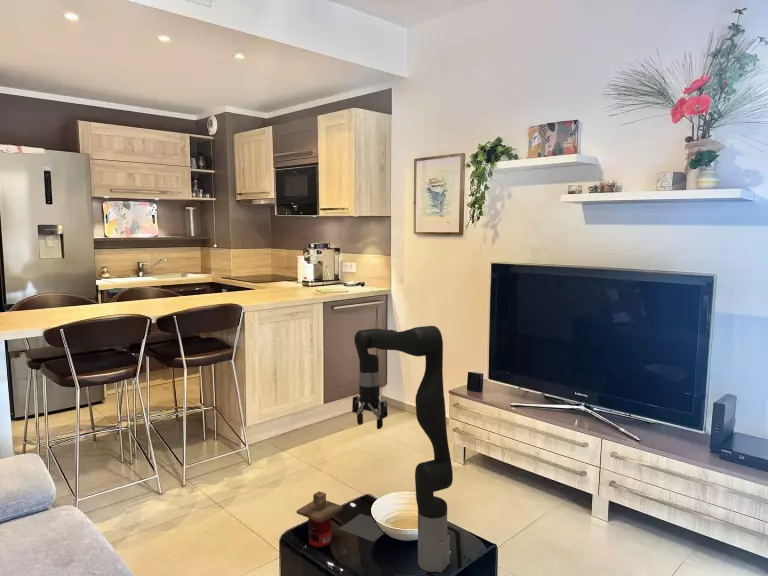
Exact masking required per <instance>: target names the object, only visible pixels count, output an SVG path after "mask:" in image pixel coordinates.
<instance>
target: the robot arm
mask: <svg viewBox="0 0 768 576" xmlns="http://www.w3.org/2000/svg"><path fill="white" fill-rule="evenodd" d="M353 340H354V345H355V349H356V352H357V355H358V361H359V376H358V394H359V395H355V396H353V397H352V404H351V405H352V407H351V411H352V413H355V415H356V422H357V425H358V426H362V425H363V424H364V414H363V413H364V411H368V412H372V414H373V415H375V417H376V429H377V430H380V429H382V428H383V426H384V423H383V422H384V420H383V419H385V418H387V417H388V415H389V414H388V402H387V400H380V395H381V393H380V391H381V390H380V389H381V385H380V382H381V381H380V380H381V379H380V371H379V370H380V369H379V368H380V367H379V366H380V363H379V362H380V361H379V356H378V355H376V354H373V353H370V352H369V349H377V350H385V351H398V352H402V353H404V354H406V355H411V356H413V357H424V356H425V357H424V358H425V368H424V369H425V370H424V373H423V374H424V375H423V376H422V379H421V381H420V384H419V386H418V388H417V391H416V395H415V399H414V400H415V414H416V419H417V422H418V424H419V426H420V428H421V429H422V430H423V432H424V433H425V435H426V436H427V438H428V439H429V441H430V442H431V444H432V445H431V446H432V449H433V459H431V460H428V461H422V462H419V463H418V464H416V467H415V473H414V483H415V500H416V504H417V564H418V566H419V568H421V569H422V570H423V571H426V572H431V573H442V572H443V571H444V570H445V569H447V567H448V566H449V565H450V564H451V561H450V560H451V557H450V555H451V550H450V547H451V545H450V543H451V541H450V540H451V535H450V534H448V503H447V502H446V500H444V499H443V498H442V497H439V496H436V495H434V494H435V493H437V492H439V491H443V490H445V489H449V488H450V487H451V486H452V484H453V480H454V476H453V473H454V472H453V467H452V466H453V465H452V458H451V455H450V454H451V453H450V449H449V440H448V431H447V415H446V401H445V400H446V399H445V391H444V373H443V371H444V370H443V369H444V368H443V367H444V364H443V363H444V360H443V358H444V340H443V335H442V332H441V331H440V329H439V328H438V327H437V326H435V325H426V326H425V325H424V326H417V327H412V328H410V329H406V330H403V331H397V330H393V329H382V328H368V329H360V330H358V331H356V333H355V335H354V339H353Z"/></svg>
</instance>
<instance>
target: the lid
mask: <svg viewBox="0 0 768 576" xmlns="http://www.w3.org/2000/svg"><path fill="white" fill-rule="evenodd" d="M312 496H313V497H312V498H313V499H312V500H313V501H310V502H308V503H307V504H306V505H304V506H302V507H300V508H299V509H296V514H297V515H299V516H302V517H305V518H307V519H308V518H310V519H313V520H315V521H318V522H321V523H322V522H323V521H325V520H327V519H328V518H330V517H331V518H332V517H333V516H334V515H336V514H337V513H339V512H340V511H343V509H344V507H343V505H340V504H337V503H335V502H331V501H329V500H327V493H325V492H323V491H320V490H319V491H317V492H315V493H314V494H313V495H312Z"/></svg>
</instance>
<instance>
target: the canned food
mask: <svg viewBox="0 0 768 576" xmlns="http://www.w3.org/2000/svg"><path fill="white" fill-rule="evenodd" d="M307 519H308V543H309V546H312V547H315V548H323V547H327V546H329V545H330V543H331V542H332V540H333V539H332V538H333V537H332V535H333V534H332V533H333V532H332V516H331V517H330V518H328V519H327V520H325V521H323V522H322V523H321V522H318V521H315V520H313V519H310V518H307Z"/></svg>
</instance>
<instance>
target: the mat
mask: <svg viewBox="0 0 768 576" xmlns="http://www.w3.org/2000/svg"><path fill="white" fill-rule="evenodd" d="M372 518H373V517H372V516H369V515H366V514H363V513H359V514H358V515H357V516H355V517H354V518H352V519H351V520H350V521H348V522H347V523H345V524H344V525H343V526H341V527H340V528H339V530H341V531H343V532H345V533H347V534H351V535H354V536H356V537H359V538H362V539H365V540H368V541H370V542H373V543H374V542H376V540H378V539H379V538H381V537H382V535H384V534H385V533H383V532H382V531H381V530H380V529H379V528H378V526H377V524H376V523H375V522H374V520H373V519H372Z"/></svg>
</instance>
